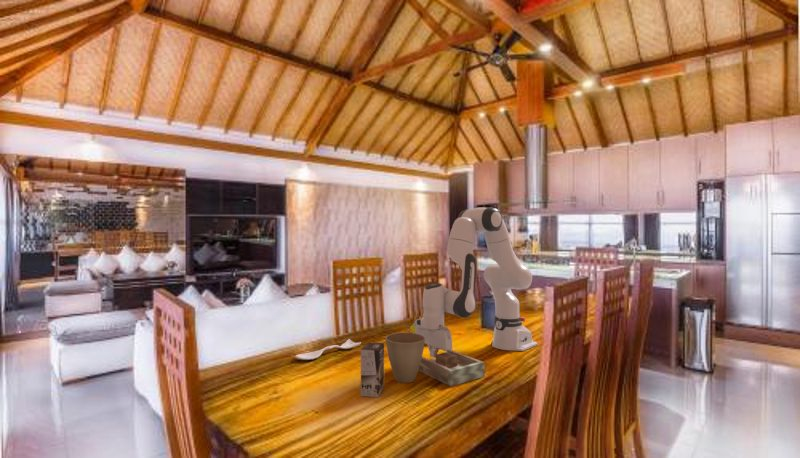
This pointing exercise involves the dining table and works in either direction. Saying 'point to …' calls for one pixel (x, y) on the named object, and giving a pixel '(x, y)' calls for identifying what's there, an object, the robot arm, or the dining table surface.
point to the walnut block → (446, 359)
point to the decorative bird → (413, 328)
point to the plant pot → (405, 355)
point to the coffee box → (372, 369)
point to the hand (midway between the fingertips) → (433, 356)
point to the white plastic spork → (317, 353)
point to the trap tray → (454, 369)
